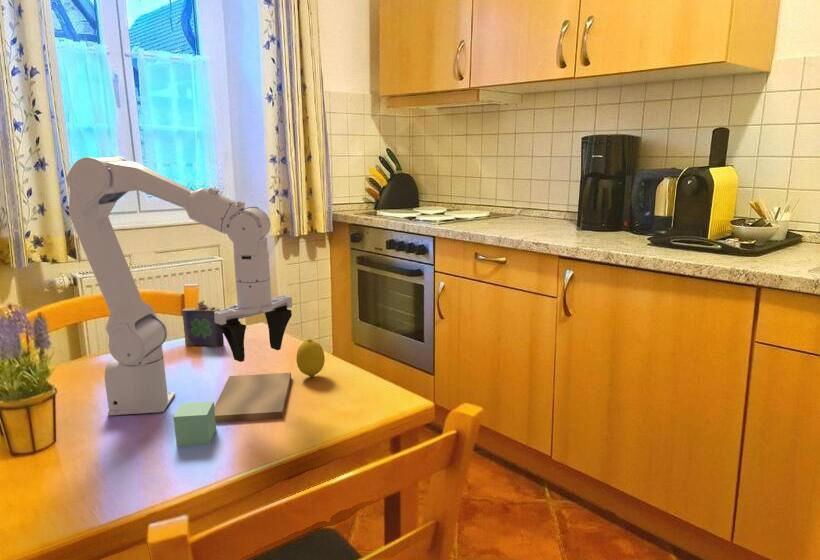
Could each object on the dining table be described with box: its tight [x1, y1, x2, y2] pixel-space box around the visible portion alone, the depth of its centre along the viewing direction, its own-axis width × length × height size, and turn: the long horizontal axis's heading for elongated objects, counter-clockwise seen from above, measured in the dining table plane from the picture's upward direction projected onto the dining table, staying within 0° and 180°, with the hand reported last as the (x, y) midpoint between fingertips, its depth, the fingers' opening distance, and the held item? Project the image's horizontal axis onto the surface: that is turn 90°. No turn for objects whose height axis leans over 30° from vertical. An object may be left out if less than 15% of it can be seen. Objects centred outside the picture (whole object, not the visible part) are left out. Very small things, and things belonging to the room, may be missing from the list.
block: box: [173, 400, 217, 447], centre depth 94 cm, size 5×5×5 cm
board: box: [214, 372, 292, 423], centre depth 109 cm, size 12×18×1 cm, turn 6°
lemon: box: [295, 338, 326, 378], centre depth 118 cm, size 6×6×8 cm
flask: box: [181, 300, 225, 348], centre depth 138 cm, size 9×3×11 cm, turn 84°
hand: (257, 354), depth 104 cm, fingers open, 7 cm apart
